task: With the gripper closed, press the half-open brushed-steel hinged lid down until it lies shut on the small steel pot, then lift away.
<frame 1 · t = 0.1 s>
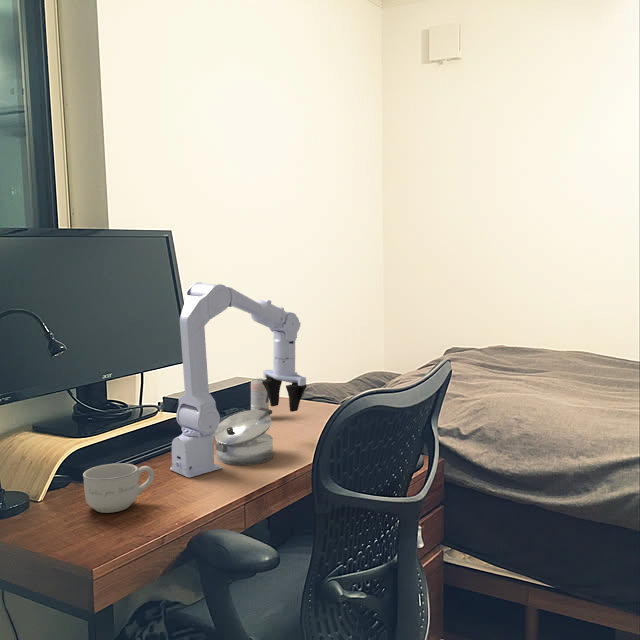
hand: (284, 408, 183), 10 cm above the table, tool pointing down, fingers open, 7 cm apart
teacup: (120, 507, 142), on the table
lid: (243, 423, 174), point 8 cm above the table, hinge at 20.0°
pot: (244, 456, 175), on the table
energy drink: (259, 419, 211), on the table
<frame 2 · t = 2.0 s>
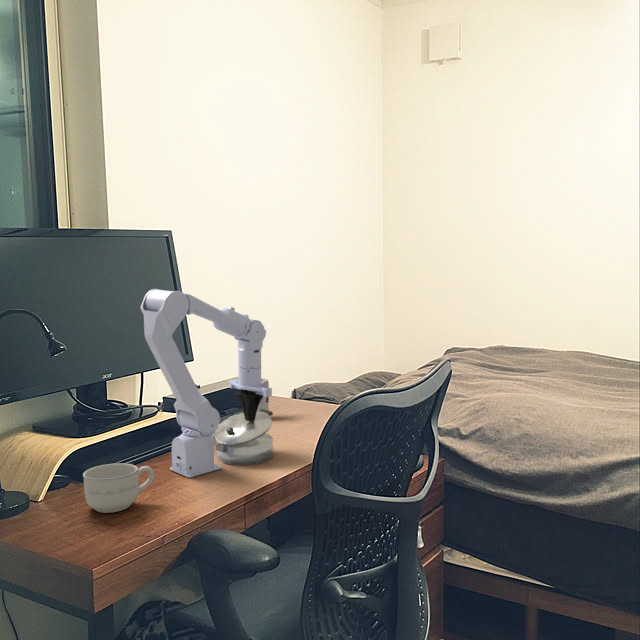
hand: (250, 420, 175), 9 cm above the table, tool pointing down, fingers closed, pressing on lid
lid: (244, 424, 174), point 8 cm above the table, hinge at 18.3°, touching gripper
everything else where it was.
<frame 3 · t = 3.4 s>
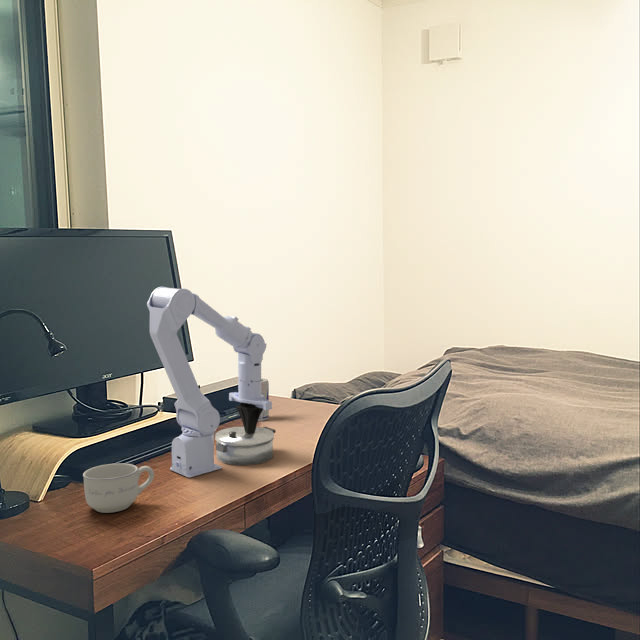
hand: (250, 432, 176), 6 cm above the table, tool pointing down, fingers closed
lid: (246, 433, 175), point 6 cm above the table, hinge at -0.1°
everything else where it was.
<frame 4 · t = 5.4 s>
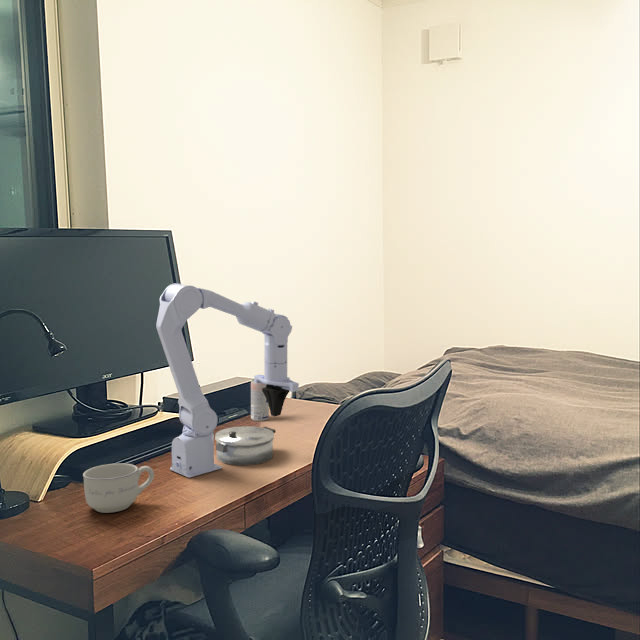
hand: (275, 415, 175), 10 cm above the table, tool pointing down, fingers closed
nothing on the table moved.
at the end: lid at +0° (first picture: +20°) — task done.
